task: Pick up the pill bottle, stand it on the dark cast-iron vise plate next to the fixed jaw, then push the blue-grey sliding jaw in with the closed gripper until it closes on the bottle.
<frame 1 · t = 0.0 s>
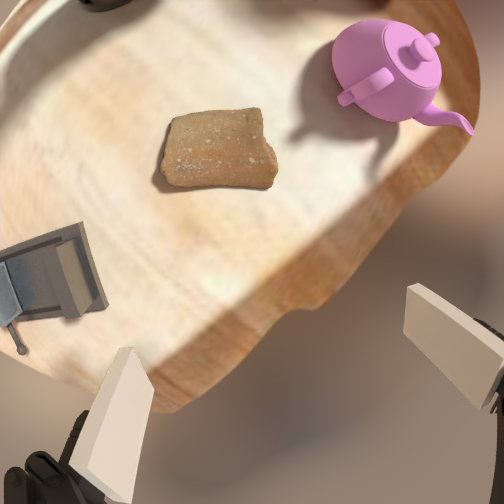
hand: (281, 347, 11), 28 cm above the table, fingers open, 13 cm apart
sliding jaw: (4, 313, 33), point 5 cm above the table, slide at 0.0 cm
teapot: (381, 86, 34), on the table
vise: (43, 277, 37), on the table
stone: (222, 149, 36), on the table
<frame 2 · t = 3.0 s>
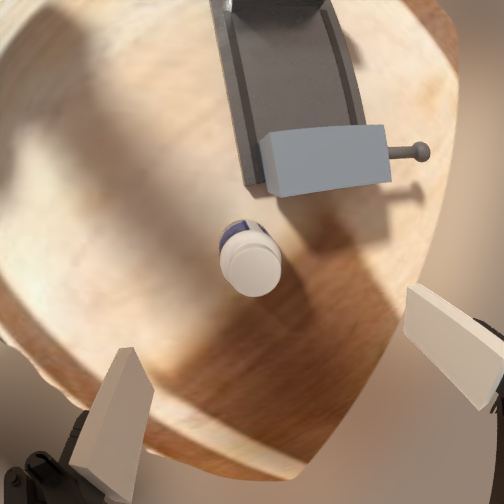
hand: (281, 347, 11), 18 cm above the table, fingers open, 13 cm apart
sliding jaw: (360, 155, 23), point 5 cm above the table, slide at 0.0 cm
vise: (289, 69, 24), on the table
pill bottle: (244, 243, 29), on the table
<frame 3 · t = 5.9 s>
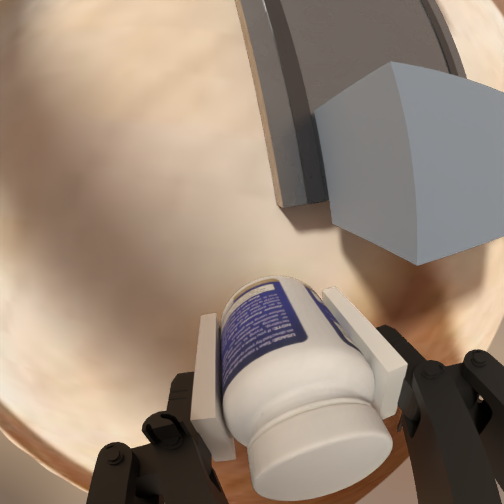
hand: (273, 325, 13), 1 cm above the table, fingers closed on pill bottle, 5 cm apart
sliding jaw: (496, 159, 8), point 5 cm above the table, slide at 0.0 cm
vise: (350, 2, 10), on the table
pill bottle: (272, 319, 14), point 1 cm above the table, touching gripper
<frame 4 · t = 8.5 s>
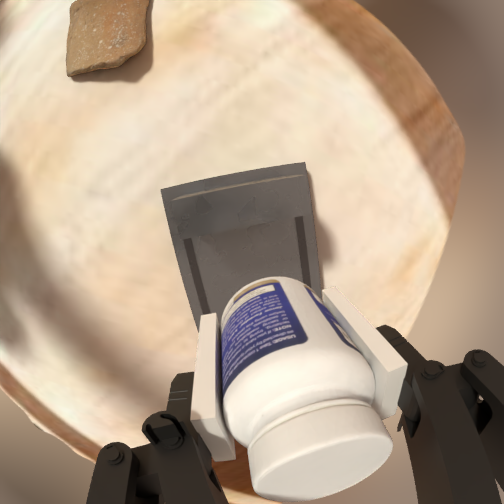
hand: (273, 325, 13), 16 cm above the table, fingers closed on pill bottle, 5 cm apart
vise: (253, 285, 30), on the table
stone: (110, 23, 20), on the table
pill bottle: (272, 320, 14), point 15 cm above the table, touching gripper
when the fingers open (2 cm above the table, at t = 11.2 s): pill bottle stays where it is, resting on vise.
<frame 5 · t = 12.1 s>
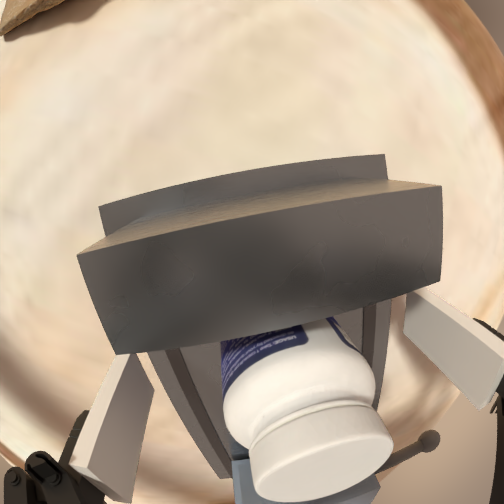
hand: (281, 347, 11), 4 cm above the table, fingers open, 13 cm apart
sliding jaw: (349, 475, 15), point 5 cm above the table, slide at 0.0 cm
vise: (278, 368, 16), on the table
pill bottle: (272, 320, 14), point 1 cm above the table, touching vise
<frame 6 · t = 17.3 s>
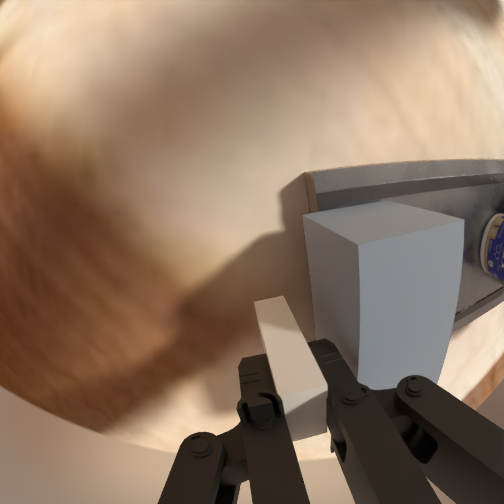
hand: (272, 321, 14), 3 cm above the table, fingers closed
sliding jaw: (373, 373, 13), point 5 cm above the table, slide at 0.0 cm, touching gripper
vise: (453, 249, 17), on the table
pill bottle: (492, 242, 16), point 1 cm above the table, touching vise
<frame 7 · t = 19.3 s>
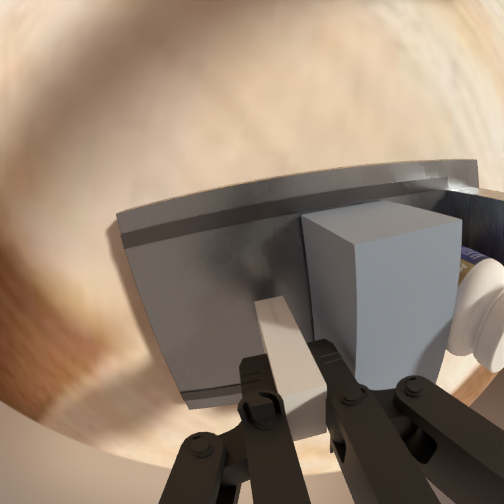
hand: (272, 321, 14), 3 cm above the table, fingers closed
sliding jaw: (372, 372, 13), point 5 cm above the table, slide at 10.2 cm, touching gripper, pill bottle
vise: (344, 280, 17), on the table
pill bottle: (414, 270, 16), point 1 cm above the table, touching sliding jaw
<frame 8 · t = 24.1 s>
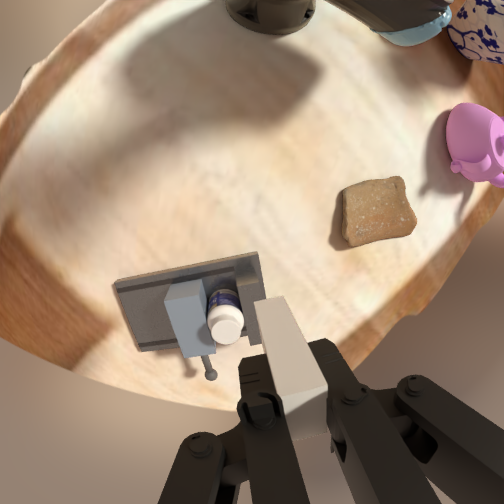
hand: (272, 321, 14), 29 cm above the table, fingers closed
sliding jaw: (198, 338, 41), point 5 cm above the table, slide at 10.7 cm
teapot: (466, 150, 42), on the table
vise: (193, 304, 45), on the table
stone: (376, 210, 44), on the table
pill bottle: (224, 302, 44), point 1 cm above the table, touching vise
vase: (460, 41, 34), on the table
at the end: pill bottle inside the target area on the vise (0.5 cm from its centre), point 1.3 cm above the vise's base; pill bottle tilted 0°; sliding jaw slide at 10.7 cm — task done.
